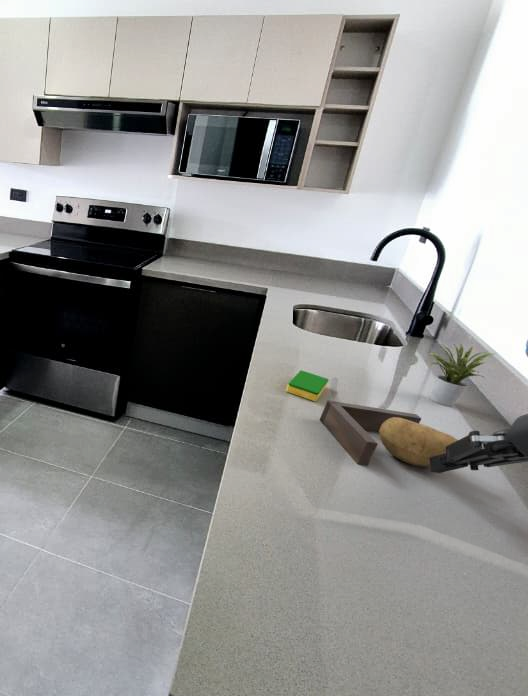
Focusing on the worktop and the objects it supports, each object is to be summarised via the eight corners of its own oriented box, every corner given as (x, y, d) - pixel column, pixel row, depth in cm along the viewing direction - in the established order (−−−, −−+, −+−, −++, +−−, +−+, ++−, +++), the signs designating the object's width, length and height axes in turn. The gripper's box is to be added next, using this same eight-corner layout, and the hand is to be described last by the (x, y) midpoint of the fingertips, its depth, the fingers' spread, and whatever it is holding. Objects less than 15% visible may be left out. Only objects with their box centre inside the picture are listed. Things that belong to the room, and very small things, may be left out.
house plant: (442, 390, 142) (470, 336, 135) (488, 414, 130) (521, 356, 123) (401, 388, 139) (427, 333, 132) (444, 412, 127) (475, 352, 120)
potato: (454, 487, 93) (475, 450, 90) (369, 457, 99) (386, 422, 96) (449, 465, 101) (468, 431, 97) (371, 438, 107) (386, 405, 104)
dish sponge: (325, 387, 132) (329, 378, 131) (315, 402, 121) (318, 393, 120) (297, 377, 136) (300, 369, 135) (285, 391, 125) (288, 382, 124)
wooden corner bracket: (406, 433, 112) (416, 414, 110) (459, 480, 95) (472, 458, 93) (319, 419, 112) (327, 400, 110) (357, 464, 96) (367, 441, 94)
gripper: (600, 414, 72) (466, 451, 94) (509, 400, 72) (397, 440, 95) (613, 465, 70) (472, 491, 92) (518, 450, 70) (401, 479, 92)
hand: (434, 465), depth 93 cm, fingers closed
